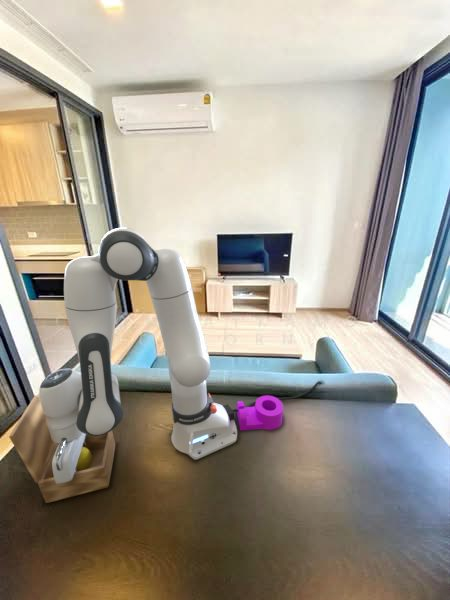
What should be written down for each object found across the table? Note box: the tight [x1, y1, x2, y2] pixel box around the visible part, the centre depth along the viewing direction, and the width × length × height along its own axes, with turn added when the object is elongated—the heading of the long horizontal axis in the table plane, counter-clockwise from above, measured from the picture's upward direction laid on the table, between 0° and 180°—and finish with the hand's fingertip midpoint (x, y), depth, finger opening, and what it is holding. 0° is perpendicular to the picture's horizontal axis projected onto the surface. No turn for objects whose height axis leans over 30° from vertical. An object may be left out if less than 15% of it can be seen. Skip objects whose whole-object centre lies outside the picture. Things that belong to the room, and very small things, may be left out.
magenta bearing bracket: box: [236, 394, 284, 431], centre depth 91 cm, size 16×10×6 cm, turn 95°
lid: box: [8, 395, 55, 484], centre depth 66 cm, size 16×14×1 cm
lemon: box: [76, 447, 92, 471], centre depth 73 cm, size 6×6×8 cm
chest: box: [37, 430, 116, 504], centre depth 73 cm, size 16×14×8 cm
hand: (78, 461), depth 73 cm, fingers open, 7 cm apart
